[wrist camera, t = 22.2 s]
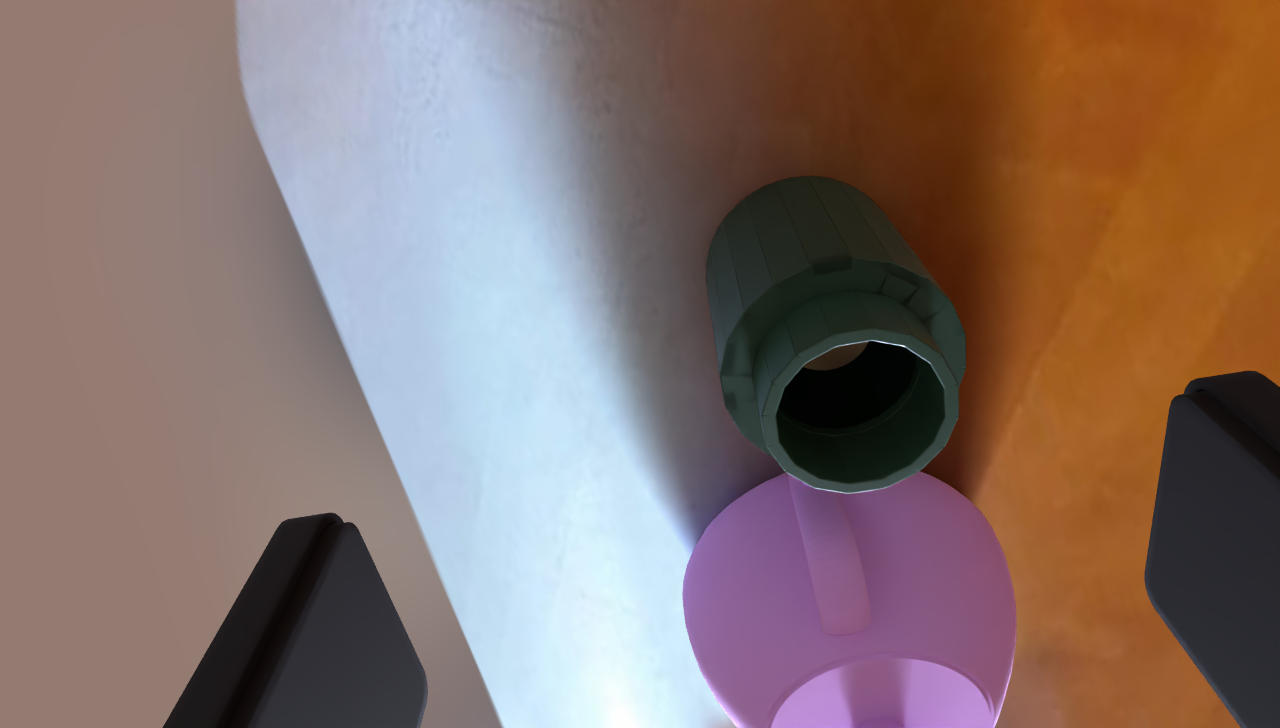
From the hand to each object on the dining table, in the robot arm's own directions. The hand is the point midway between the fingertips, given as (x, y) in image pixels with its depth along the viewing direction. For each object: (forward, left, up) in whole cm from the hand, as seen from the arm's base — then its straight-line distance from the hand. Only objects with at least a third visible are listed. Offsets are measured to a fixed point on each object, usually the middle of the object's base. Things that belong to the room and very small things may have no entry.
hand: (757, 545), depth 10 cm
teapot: (+4, -30, -29) cm, 42 cm away
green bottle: (+4, -10, -29) cm, 31 cm away
